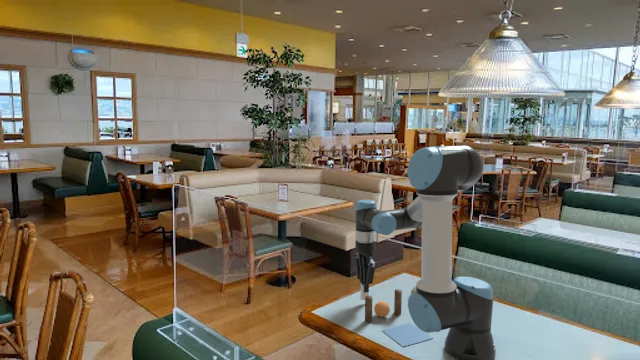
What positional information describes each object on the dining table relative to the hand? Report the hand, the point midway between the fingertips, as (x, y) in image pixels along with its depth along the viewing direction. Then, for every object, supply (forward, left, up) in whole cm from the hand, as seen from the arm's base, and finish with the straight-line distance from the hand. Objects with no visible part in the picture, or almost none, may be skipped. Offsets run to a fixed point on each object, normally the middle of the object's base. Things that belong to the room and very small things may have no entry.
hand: (364, 298), depth 176 cm
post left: (-13, +6, -2) cm, 15 cm away
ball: (-12, 0, +1) cm, 12 cm away
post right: (-13, -6, -2) cm, 15 cm away
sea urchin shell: (-6, -24, -2) cm, 24 cm away
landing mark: (-27, 0, -2) cm, 27 cm away
